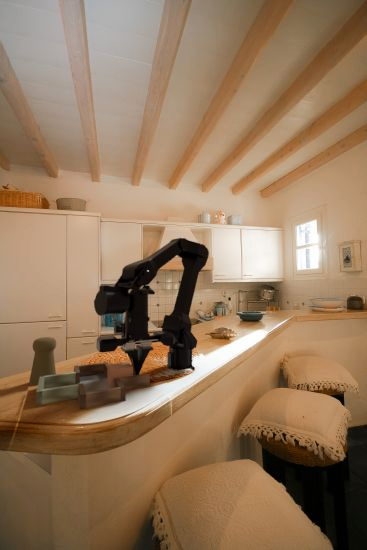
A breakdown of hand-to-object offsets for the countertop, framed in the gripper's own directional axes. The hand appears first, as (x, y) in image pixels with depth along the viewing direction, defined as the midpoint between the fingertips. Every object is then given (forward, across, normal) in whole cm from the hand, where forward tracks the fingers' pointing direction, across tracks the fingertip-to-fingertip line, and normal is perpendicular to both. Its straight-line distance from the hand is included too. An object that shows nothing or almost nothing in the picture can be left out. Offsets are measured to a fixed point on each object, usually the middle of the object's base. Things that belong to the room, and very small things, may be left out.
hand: (136, 375), depth 62 cm
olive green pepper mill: (+2, +21, -10) cm, 23 cm away
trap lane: (+2, +9, 0) cm, 9 cm away
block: (+1, +4, 0) cm, 4 cm away
